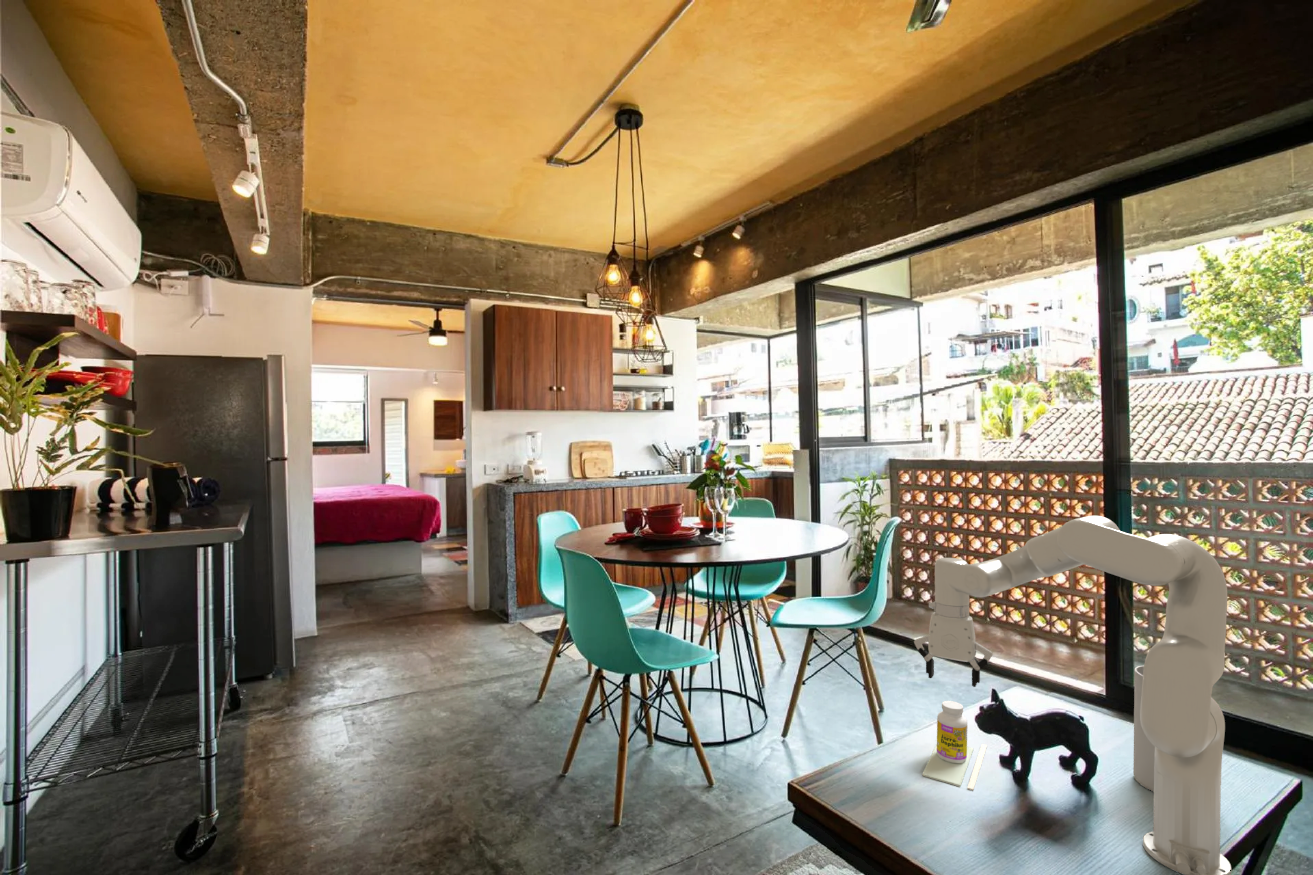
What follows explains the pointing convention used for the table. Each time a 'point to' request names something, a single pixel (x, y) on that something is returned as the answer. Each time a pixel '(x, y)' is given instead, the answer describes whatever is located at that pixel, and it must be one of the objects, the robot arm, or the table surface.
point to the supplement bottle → (952, 733)
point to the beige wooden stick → (977, 767)
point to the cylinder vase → (1142, 740)
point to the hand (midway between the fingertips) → (952, 680)
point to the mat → (946, 768)
